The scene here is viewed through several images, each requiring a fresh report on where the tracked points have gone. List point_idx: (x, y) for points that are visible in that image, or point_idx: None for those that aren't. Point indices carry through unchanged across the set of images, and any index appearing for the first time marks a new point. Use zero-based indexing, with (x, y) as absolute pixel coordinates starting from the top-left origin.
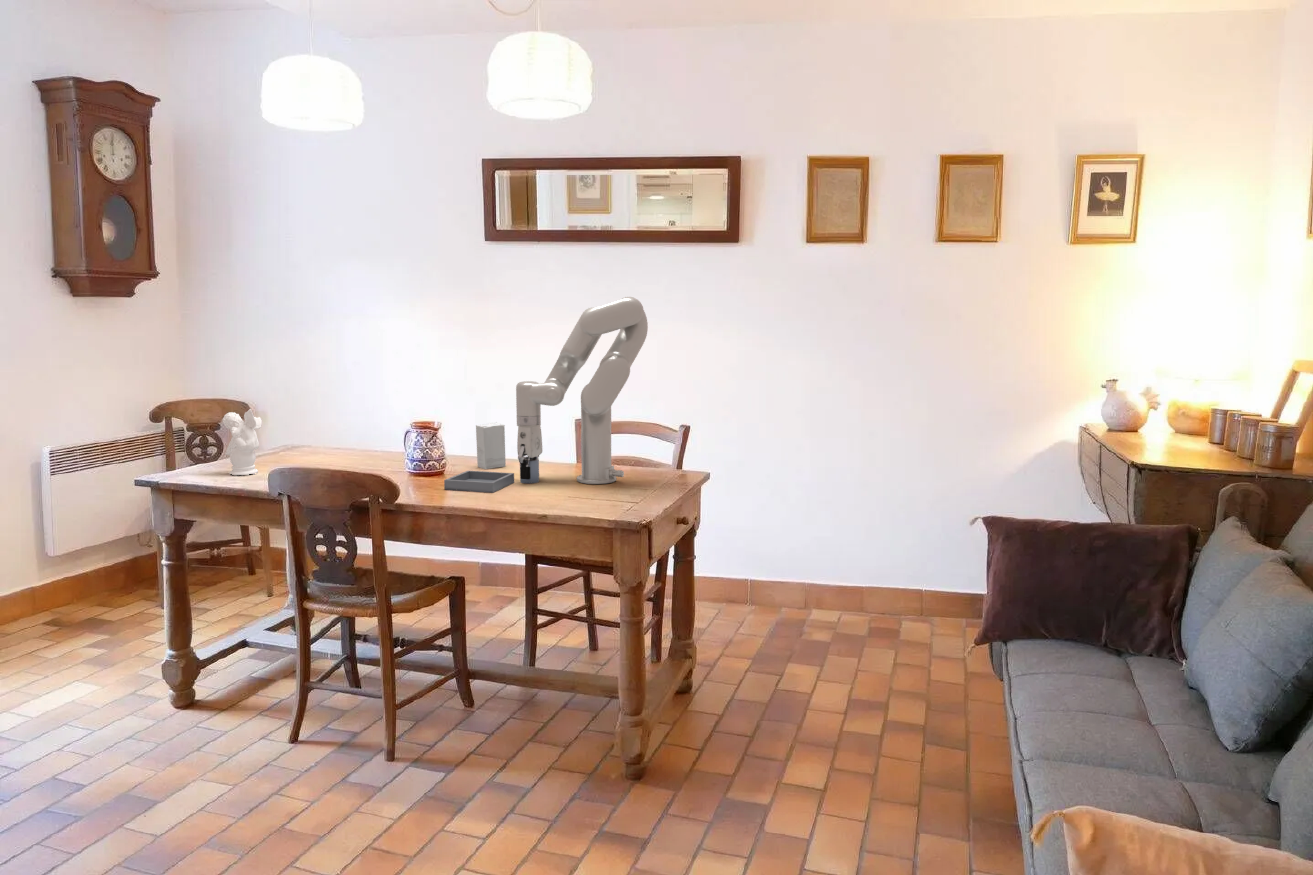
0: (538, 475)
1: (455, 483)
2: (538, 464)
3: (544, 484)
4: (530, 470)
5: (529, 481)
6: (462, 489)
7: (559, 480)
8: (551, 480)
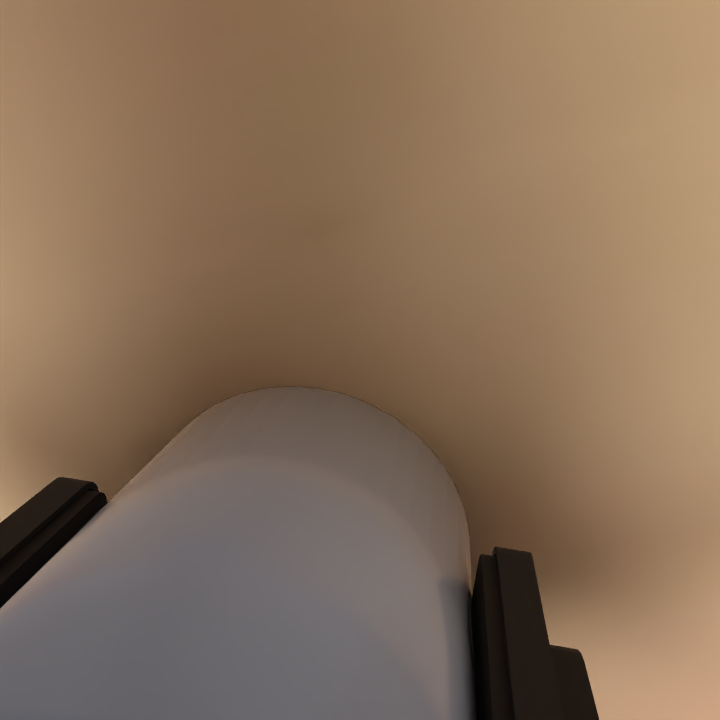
0: (281, 437)
1: None
2: (165, 592)
3: (528, 214)
4: (462, 670)
5: (465, 532)
6: None
7: (70, 8)
8: (117, 181)
